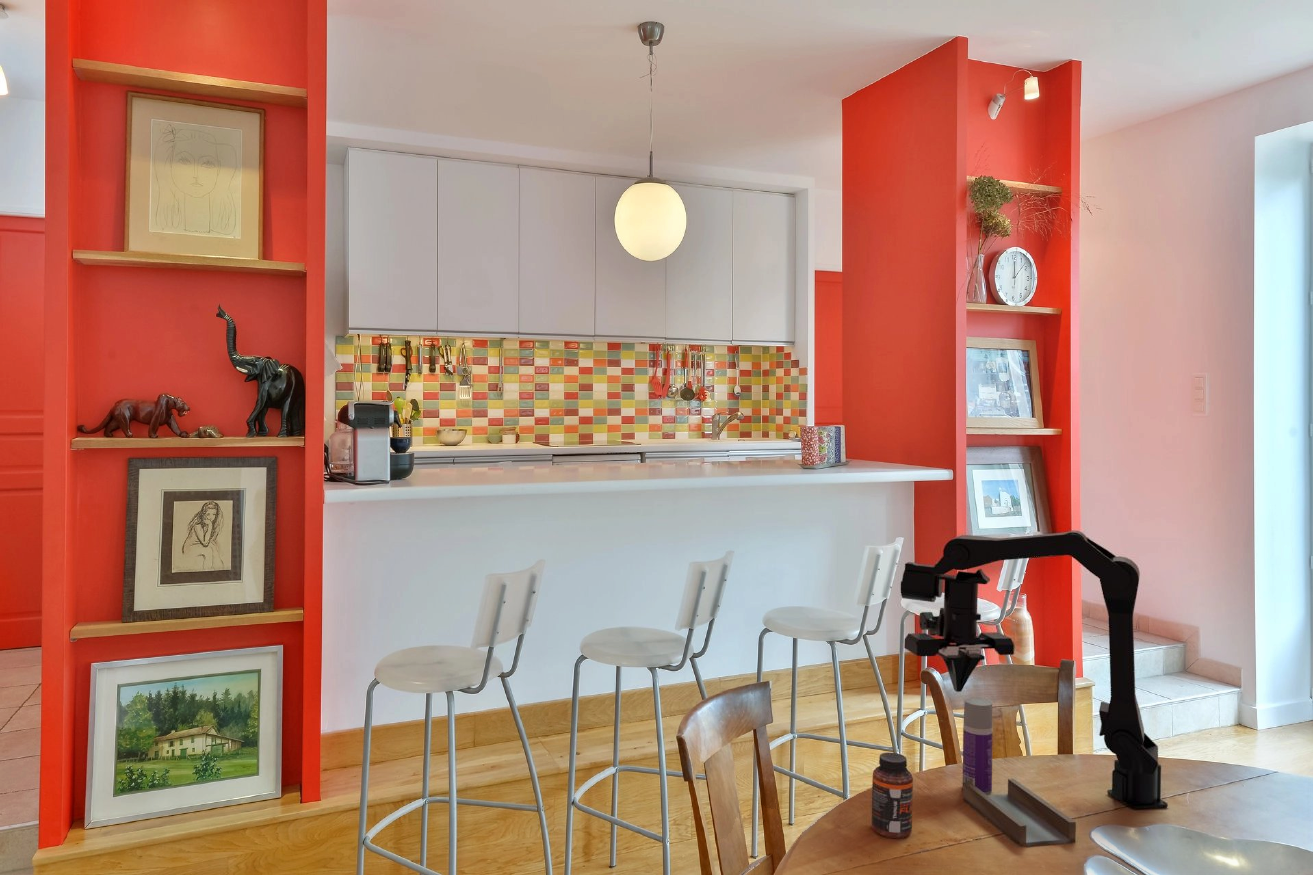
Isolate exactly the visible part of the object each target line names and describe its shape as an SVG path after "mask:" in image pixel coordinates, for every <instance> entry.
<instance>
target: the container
mask: <svg viewBox="0 0 1313 875" xmlns="http://www.w3.org/2000/svg"><path fill="white" fill-rule="evenodd" d="M962 726H963V727H962V783H963V782H970V783H972V784H973V785H974V786H976V787H977V788H978V789H979V790H981V791H982V792H983V793H985V794H986V795H992V793H993V789H992V788H993V745H994V744H993V743H994V742H993V741H994V740H993V738H994V737H993V733H994V732H993V729H994V728H993V726H994V725H993V702H992V701H991V700H989V699H987V698H982V697H967V698H965V699H964V703H963V725H962Z"/></svg>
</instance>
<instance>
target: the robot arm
mask: <svg viewBox="0 0 1313 875" xmlns="http://www.w3.org/2000/svg"><path fill="white" fill-rule="evenodd" d="M942 552H943V553H942V554H943V555H942V557H941V558H940V559H939V561H937V562H935V564H934V565H930V564H920V563H917V562H913V561H912V562H911V561H907V562H906V563H904V571H903V572H902V580H901V581H900V596H901V598H902V599H904V600H915V601H921V602H922V601H923V602H928V603H935V602H936V600H937V598H941V597H942V595H943V594H944V596H943V607H940V608H939V614H938V615H934V614H933V612H931V611H922V612H919V619H918V620H919V621H918V622H919V628H920V630H921V631H928V633H927V632H924V633H923V632H922V633H918V632H917V633H907V634H906V636H905V638H904V645H903V646H904V649H905V650H907V651H909V652H910V653H912V654H914V656H915V655H916V656H917V657H935V656H937V655H938V657H941V659H942V660H943V661H944V664H945V666H946V669H947V672H948V675H949V677H950V681H951V684H952V687H953V691H955V692H956V693H961V692H962V691H963V689H964V687H965V685H966V683H967V682H968V680H969V678H970V676H971V674H972V673H973V671H975V669H976V667H977V666H978V664H980V661H982V660H983V661H985V659H986V657H985V655H983V654H982V650H985V649H987V650H988V649H989V650H992V649H994V652H996V653H997V654H998V655H999V656H1009V655H1010V656H1012V655H1015V648H1016V646H1015V643H1014V641H1013V639H1012V638H1011V637H1008V636H1007V635H1005V634H1003V633H1000V632H997V631H996V632H991V631H990V632H980V634H978V635H977V624H978V621H981V620H982V619H981V618H982V614H981V613H978V602H979V601H978V599H979V598H978V596H979V595H978V594H979V592H978V591H979V585H987V584H988V583H990V582H991V578H990V577H989V576H988V575H986V573H984V571H983V569H982V568H979V569H978V570H977V571H975V572H970V571H965V570H970V569H974V568H978V567H981V566H984V565H988V564H991V563H995V562H998V561H1009V560H1011V561H1012V560H1022V559H1033V558H1034V559H1035V558H1036V559H1037V558H1047V557H1058V556H1059V557H1060V556H1070V557H1072V558H1073V559H1074V560H1075V561H1077V562H1078V563H1079V564H1080V565H1081V566H1083V567H1084V568H1085V569H1086V570H1088V571H1089V572H1090V573H1091V574H1093V575H1094V576H1095V577H1096V578H1098V579H1099V583H1100V588H1101V592H1102V596H1103V600H1104V604H1105V607H1106V611H1107V615H1108V643H1109V645H1108V646H1109V647H1108V650H1109V673H1110V674H1109V675H1110V676H1109V678H1110V679H1109V680H1110V686H1109V687H1110V700H1109V702H1105V701H1100V705H1099V709H1098V712H1099V713H1098V714H1099V720H1100V728H1099V734H1098V735H1099V736H1100V737H1103V741H1104V744H1105V746H1106V748H1107V749H1108V750H1109V751H1110V752H1111V753H1112V754H1114V755H1115V756H1116V758H1117V759H1115V760H1114V761H1113V762H1114V763H1113V764H1114V766H1113V767H1114V768H1113V770H1111V771H1112V772H1111V789H1107V791H1106V792H1107V794H1108V795H1110V796H1111V797H1112V798H1115V800H1117V801H1119V802H1121V803H1123V804H1124V805H1126V806H1128V807H1129V808H1131V809H1133V810H1134V809H1135V810H1142V809H1143V810H1144V809H1153V808H1154V809H1155V808H1167V807H1168V806H1169V804H1168V802H1166V801H1164V799H1161V795H1162V793H1161V792H1162V782H1161V781H1162V765H1161V764H1159V746H1158V745H1157V744H1156V743H1155V742H1154V741H1153V740H1152V739H1151V738H1150V737H1149V736H1148V734H1147V733H1145V728H1144V723H1143V719H1142V714H1141V710H1140V706H1139V702H1138V699H1137V696H1136V672H1135V671H1136V669H1135V667H1136V666H1135V635H1134V633H1135V632H1134V631H1135V630H1134V628H1135V626H1134V612H1135V606H1136V600H1137V596H1138V589H1139V584H1140V576H1141V575H1140V574H1141V573H1140V569H1139V566H1138V565H1137V564H1136V563H1135V562H1134V561H1133V559H1130V558H1128V557H1125V556H1116V555H1115V554H1114V553H1112V552H1111V551H1109V550H1108V549H1107V548H1105V547H1103V546H1102V545H1100V544H1098V543H1097V542H1095V541H1094V540H1092V539H1091V538H1089V537H1087V536H1086V535H1085V533H1084V532H1082V531H1079V530H1077V529H1076V530H1074V529H1073V530H1069V531H1067V532H1066V531H1065V532H1057V533H1047V534H1046V533H1045V534H1033V535H1023V536H1013V537H1002V538H1000V537H991V536H983V535H972V534H971V535H969V534H962V535H957V536H956V537H954V538H952V539H950V540H949V541H948V542H946V544H945V545H944V547H943V551H942ZM953 570H956V571H957V573H956V574H955V575H954V574H948V573H949V572H951V571H953ZM943 590H944V592H943ZM934 636H937V637H941V638H936V637H934Z"/></svg>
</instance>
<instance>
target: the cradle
mask: <svg viewBox="0 0 1313 875" xmlns="http://www.w3.org/2000/svg"><path fill="white" fill-rule="evenodd" d="M962 790H963V791H962V792H963V794H962V795H963V797H962V798H963V799H962V800H963V801H964V802H965V803H966V804H968V805H969V806H970V807H971V808H972V809H974V810H975V811H976V812H977V813H979V815H980V816H982V817H983V818H984V819H985V820H987V821H988V822H989V823H991V824H992V825H993V826H994V827H995V828H997V829H998V831H1000V832H1002V834H1004V835H1006V837H1008V839H1010V840H1011V841H1012V842H1014V843H1015V844H1016V845H1017V846H1019V847H1030V846H1041V845H1043V846H1044V845H1045V846H1046V845H1054V844H1055V845H1057V844H1067V843H1076V838H1077V837H1076V836H1077V833H1076V829H1077V828H1076V827H1077V826H1076V821H1075V820H1074V819H1072V818H1071V817H1070V816H1068V815H1067V814H1065V813H1064V812H1062V811H1061V810H1059V809H1058V808H1057V807H1055V806H1053V804H1051V803H1049V802H1048V801H1047V800H1045V799H1044V798H1042V797H1040V796H1039V795H1038V794H1037V793H1035V792H1034V791H1032V790H1030V789H1029V788H1028V787H1026V786H1025V785H1023V784H1022V783H1021V782H1019V781H1018V780H1017V779H1015V778H1008V779H1007V793H1002V794H1001V793H1000V794H989V795H986V794H985V793H983V792H982V791H981V790H979V789H978V788H977V787H976V786H974V785H973V784H972V783H970V782H963V781H962Z"/></svg>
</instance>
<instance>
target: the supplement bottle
mask: <svg viewBox="0 0 1313 875" xmlns="http://www.w3.org/2000/svg"><path fill="white" fill-rule="evenodd" d="M878 758H879V760H878V764H879V765H878V766H877V767H875V768H874V770H873V771H872V782H871V783H872V784H871V786H872V789H871V791H872V792H871V793H872V794H871V796H872V797H871V828H872V829H873V831H874V832H875V833H876V834H879V835H880V836H883V837H885V838H889V839H903V838H906V837H908V836H910V835H911V834H912V831H913V830H912V828H913V795H914V794H913V793H914V792H913V791H914V790H913V788H914V786H913V785H914V784H913V783H914V776H913V774H912V772H910V771H909V770H908V768H907V767H908V763H907V762H908V761H907V757H906V756H905V755H903V754H900V753H897V752H883V753H880V754H879V756H878Z"/></svg>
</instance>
